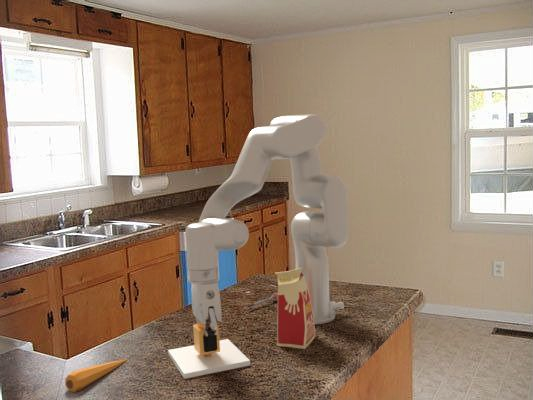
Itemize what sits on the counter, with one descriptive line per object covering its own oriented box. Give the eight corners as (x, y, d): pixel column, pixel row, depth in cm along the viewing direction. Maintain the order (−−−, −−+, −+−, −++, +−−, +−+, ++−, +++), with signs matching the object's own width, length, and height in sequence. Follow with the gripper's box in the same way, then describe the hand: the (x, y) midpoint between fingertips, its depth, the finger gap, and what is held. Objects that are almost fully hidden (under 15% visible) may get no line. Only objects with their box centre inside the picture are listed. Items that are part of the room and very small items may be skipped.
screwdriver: (249, 312, 174) (248, 303, 174) (242, 311, 176) (242, 301, 176) (300, 294, 192) (300, 285, 192) (294, 292, 194) (293, 284, 194)
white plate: (228, 343, 149) (227, 322, 148) (250, 365, 134) (249, 342, 134) (168, 354, 143) (166, 332, 142) (184, 378, 128) (183, 354, 127)
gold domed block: (213, 344, 141) (212, 315, 141) (220, 351, 137) (218, 321, 136) (194, 348, 140) (192, 318, 139) (200, 355, 135) (198, 325, 134)
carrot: (73, 398, 123) (79, 380, 122) (59, 387, 125) (64, 369, 124) (133, 371, 141) (138, 355, 140) (120, 362, 143) (125, 346, 142)
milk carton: (315, 336, 151) (313, 263, 149) (306, 349, 143) (304, 272, 140) (283, 333, 154) (280, 262, 152) (272, 346, 146) (269, 270, 143)
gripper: (229, 280, 130) (233, 356, 132) (208, 265, 145) (211, 333, 147) (198, 284, 127) (202, 362, 129) (179, 268, 142) (183, 338, 144)
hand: (207, 346), depth 138 cm, fingers closed on gold domed block, 4 cm apart
